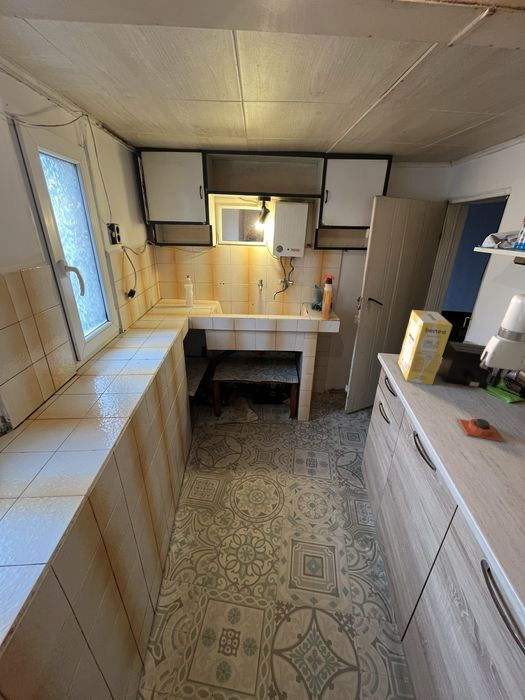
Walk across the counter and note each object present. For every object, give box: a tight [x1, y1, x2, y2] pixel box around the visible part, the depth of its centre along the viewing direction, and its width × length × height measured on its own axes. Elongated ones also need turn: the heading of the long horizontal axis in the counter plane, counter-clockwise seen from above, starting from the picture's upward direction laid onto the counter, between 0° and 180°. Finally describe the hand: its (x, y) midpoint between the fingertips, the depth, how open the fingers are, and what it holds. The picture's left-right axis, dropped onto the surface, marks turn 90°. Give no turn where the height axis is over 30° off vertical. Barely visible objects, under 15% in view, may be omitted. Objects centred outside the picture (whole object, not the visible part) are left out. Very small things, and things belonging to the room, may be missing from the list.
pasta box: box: [397, 309, 453, 386], centre depth 125 cm, size 18×10×28 cm, turn 167°
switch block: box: [458, 418, 503, 443], centre depth 94 cm, size 10×8×3 cm
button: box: [475, 418, 491, 430], centre depth 94 cm, size 4×4×2 cm
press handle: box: [465, 375, 479, 388], centre depth 117 cm, size 3×6×2 cm, turn 164°
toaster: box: [437, 340, 490, 389], centre depth 124 cm, size 16×11×16 cm
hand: (491, 384), depth 95 cm, fingers closed
